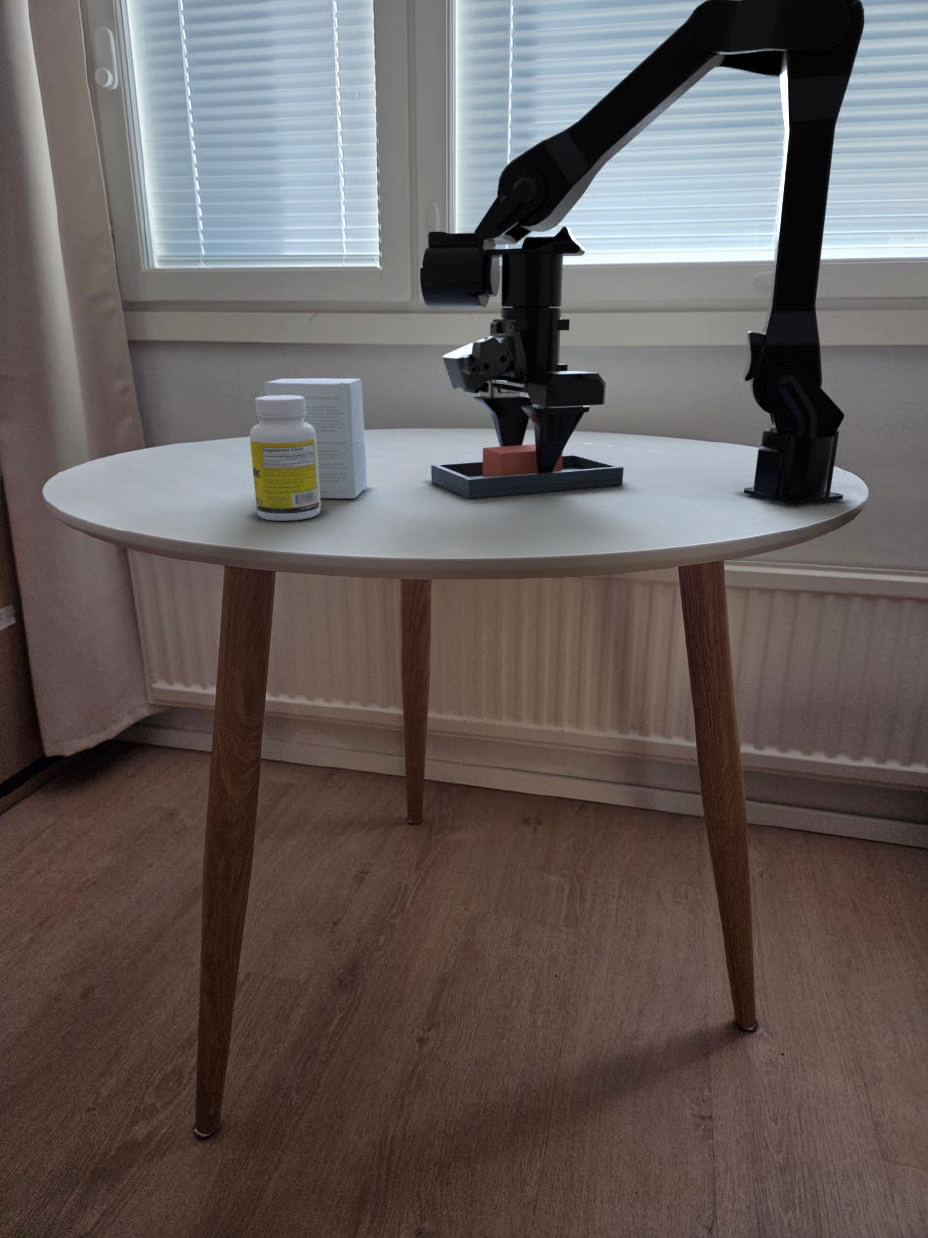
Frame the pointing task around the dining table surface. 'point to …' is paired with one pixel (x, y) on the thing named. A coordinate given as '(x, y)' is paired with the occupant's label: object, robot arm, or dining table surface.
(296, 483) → the supplement bottle
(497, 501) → the dining table surface
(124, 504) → the dining table surface
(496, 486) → the tray
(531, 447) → the brick
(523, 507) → the dining table surface
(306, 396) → the small box
